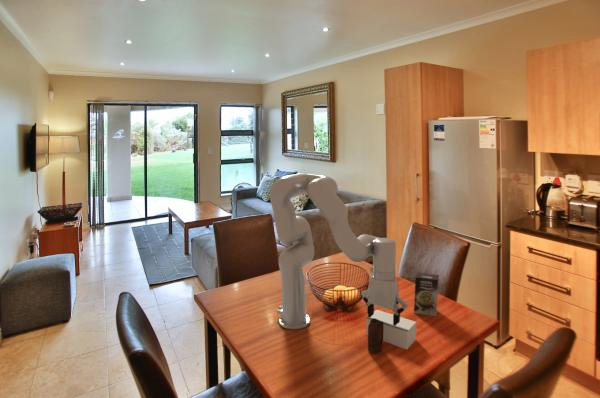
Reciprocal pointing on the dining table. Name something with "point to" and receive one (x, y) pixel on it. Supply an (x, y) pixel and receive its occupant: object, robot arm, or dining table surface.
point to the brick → (375, 336)
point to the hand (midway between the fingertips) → (383, 319)
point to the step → (395, 329)
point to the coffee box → (426, 294)
